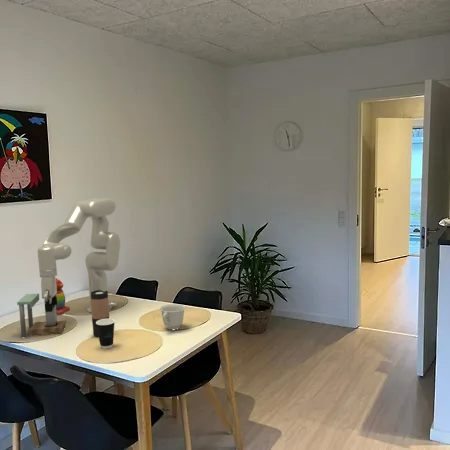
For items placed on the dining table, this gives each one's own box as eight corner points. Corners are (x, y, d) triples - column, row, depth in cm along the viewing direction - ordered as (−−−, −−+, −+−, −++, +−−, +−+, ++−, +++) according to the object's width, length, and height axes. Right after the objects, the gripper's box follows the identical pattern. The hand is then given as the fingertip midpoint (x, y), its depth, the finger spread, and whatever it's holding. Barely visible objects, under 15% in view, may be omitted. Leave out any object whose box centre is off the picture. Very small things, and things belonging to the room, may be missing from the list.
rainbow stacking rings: (61, 315, 244) (59, 281, 242) (43, 314, 246) (41, 281, 244) (71, 309, 255) (69, 277, 253) (54, 308, 256) (51, 276, 254)
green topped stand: (41, 326, 226) (39, 293, 224) (33, 337, 213) (31, 301, 211) (28, 327, 226) (25, 294, 224) (19, 338, 212) (17, 302, 210)
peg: (57, 329, 223) (55, 304, 221) (55, 332, 219) (54, 307, 217) (48, 329, 222) (47, 305, 221) (46, 332, 218) (45, 307, 217)
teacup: (152, 333, 214) (151, 312, 213) (167, 323, 228) (167, 303, 227) (176, 336, 210) (175, 314, 209) (190, 325, 224) (189, 305, 222)
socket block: (65, 326, 226) (65, 320, 226) (61, 334, 216) (60, 327, 215) (35, 328, 224) (35, 322, 224) (29, 336, 214) (29, 329, 214)
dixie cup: (109, 350, 194) (107, 325, 193) (93, 348, 197) (91, 323, 196) (120, 344, 202) (118, 319, 200) (104, 342, 204) (103, 317, 203)
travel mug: (94, 338, 208) (92, 295, 206) (91, 333, 215) (88, 291, 213) (112, 335, 212) (109, 292, 210) (108, 330, 219) (105, 289, 216)
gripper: (44, 269, 225) (47, 303, 228) (34, 278, 208) (38, 315, 211) (60, 268, 226) (63, 302, 229) (52, 276, 209) (55, 313, 212)
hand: (51, 308), depth 220 cm, fingers open, 9 cm apart
